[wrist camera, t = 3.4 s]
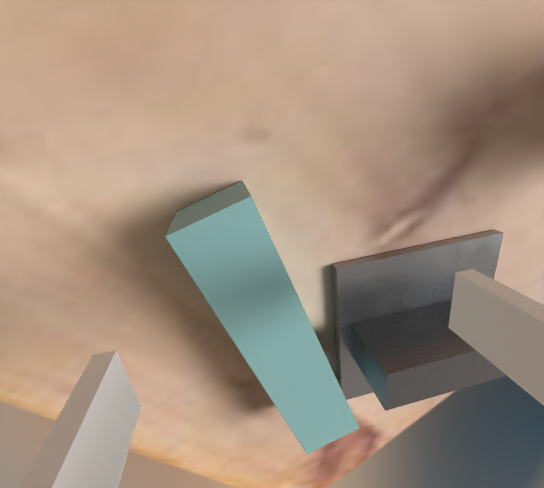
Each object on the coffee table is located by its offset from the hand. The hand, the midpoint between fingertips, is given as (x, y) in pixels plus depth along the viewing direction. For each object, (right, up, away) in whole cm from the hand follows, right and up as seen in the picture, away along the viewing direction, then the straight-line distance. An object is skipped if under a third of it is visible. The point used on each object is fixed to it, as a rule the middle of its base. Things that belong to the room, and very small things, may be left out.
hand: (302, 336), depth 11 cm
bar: (-1, -2, +11) cm, 11 cm away
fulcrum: (+11, -3, +14) cm, 18 cm away
